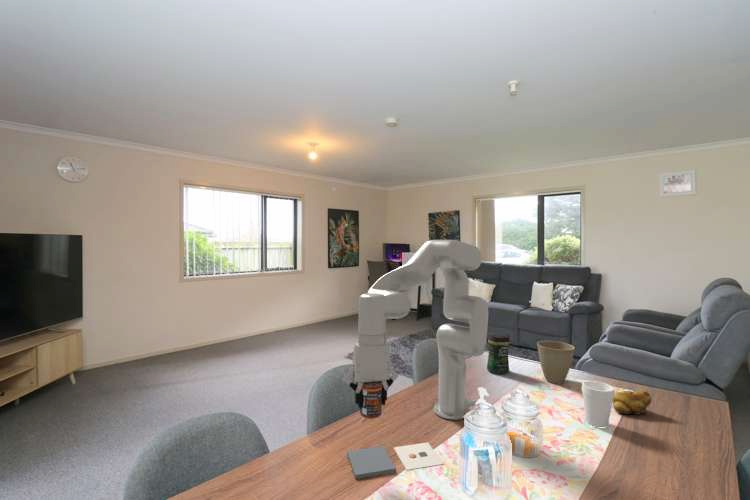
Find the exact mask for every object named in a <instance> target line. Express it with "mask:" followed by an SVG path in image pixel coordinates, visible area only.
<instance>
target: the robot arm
mask: <svg viewBox="0 0 750 500" xmlns="http://www.w3.org/2000/svg"><path fill="white" fill-rule="evenodd" d="M482 260H483V255H482V252H481V250H480V249H479V248H478V247H477V245H474V244H471V243H466V242H465V241H464V242H463V241H460V240H455V239H431V240H428V241H425V242H424V243H423V244H422V245H421V247H420V248H419V249H418V250H417V251H416V252H415V254H413V256H412V257H411V258H410V259H409V260H408V261H407V263H405V264H404V265H402V266H399V267H398V268H396V269H393V270H391V271H390V272H389V271H388V272H387V273H385V274H384V275H382V276H381V277H380V278H379V279H377V280H376V281H375V282H374V284H373V285H371V287H370V288H369V289H368V290H367V292H366V293H363V294H361V295H360V296H359V298H358V314H357V315H358V316H357V317H358V320H357V322H358V325H357V326H358V327H357V328H358V329H357V333H358V334H357V342H355V343H354V345H353V346H354V347H353V353H352V363H351V368H350V370H349V371H348V372H347V373H346V374H345V375H344V377H343V378H342V379H343V382H345V383H346V384H347V385H348V386H349V387H350V388H351V389H352V390H353V391H354V402H355V405H357V407H358V408H359V409H360V408H361V407H362V393H361V388H362V385H363V383H366V382H372V380H374V381H381V383H382V406H386V401H387V400H388V390H389V388H390V387H391V386H392V385H393V384H394V382H395V381H396V379H398V378H399V374H398V373H397V371H395V369H394V368H393V367H392V366H391V358H390V357H391V356H390V348H389V346H388V345H389V344H388V343H387V340H390V339H391V333H387V330H386V328H387V326H386V325H387V324H386V323H387V322H386V321H387V320H388V319H389V320H390V319H393V320H394V319H401V318H404V317H406V316H408V315H409V313H410V312H411V309H412V300H411V299H410V297H409V296H408V295H407V294H405V293H404V292H401V291H403V290H408V289H413V288H416V287H420V286H423V285H425V284H426V283H427V282H429V280H430V278H432V276H433V274H435V272H436V271H437V269H438V268H439V270H440V271H441V273H442V276H443V277H444V290H443V291H444V293H443V303H442V313H443V316H444V317H445V318H446V319H448V320H451V321H454V322H460V323H465V324H468V325H469V326H466V325H465V326H464V325H460V324H454V323H444V324H441V325H440V326H439V327H438V329H437V331H436V336H435V337H436V343H437V344H436V345H437V350H438V351H437V352H438V384H437V385H438V388H437V389H438V392H437V393H438V395H437V397H438V399H437V401H438V402H437V403H435V404H434V406H433V412H434V413H435V414H436V416H439V417H440V418H443V419H447V420H451V421H452V420H453V421H457V420H459V421H460V420H463V416H464V415H465V414H466V413H467V412H468V411H470V409H469V408H470V407H475V403H476V401H477V399H472V400H471V398H469V397H468V398H466V379H467V377H466V376H467V372H466V371H467V365H466V364H467V363H466V360H465V357H464V356H469V357H477V358H478V357H481V356H482V355H483V354H484V353H485V351H486V348H487V341H488V339H487V337H488V325H489V307H488V303H487V302H486V300H485V299H484V298H483V297H480V296H474V295H470V294H469V288H470V280H469V276H468V275H467V273H466V271H470V272H471V271H472V272H473V271H475V270H477V269H478V268H479V267H480V266H481V264H482ZM352 378H354V381H355V382H353V380H351V379H352ZM477 402H478V401H477Z"/></svg>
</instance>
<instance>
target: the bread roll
mask: <svg viewBox="0 0 750 500" xmlns="http://www.w3.org/2000/svg"><path fill="white" fill-rule="evenodd" d="M651 404H652V396H651V394H650V393H649V392H648V391H643V390H638V391H632V390H622V391H621V392H614V397H613V401H612V406H613V408H614V410H615V412H617V413H619V414H622V413H625V414H624V415H629V414H628V413H630V414H633V413H642V414H644V413H645V412H646V410H647V408H648V406H650V405H651ZM643 412H644V413H643Z"/></svg>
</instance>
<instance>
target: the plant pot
mask: <svg viewBox="0 0 750 500" xmlns="http://www.w3.org/2000/svg"><path fill="white" fill-rule="evenodd" d="M536 345H537V352H538V358H539V362H540V367H541V370H542V374H543V376H544V379H545V380H546V382H549V383H552V384H558V385H559V384H561V385H562V384H563V383H565V380H566V379H567V377H568V374H569V371H570V368H571V365H572V363H573V358H574V353H575V346H574V345H572V344H570V343H566V342H562V341H557V340H556V341H554V340H541V341H537V342H536Z"/></svg>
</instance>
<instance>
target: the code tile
mask: <svg viewBox="0 0 750 500" xmlns="http://www.w3.org/2000/svg"><path fill="white" fill-rule="evenodd" d="M393 451H395V453H396V454H397V456H398V459H399V460H400V461H401V463H402V465H403V467H404V469H405V470H406V471H410V470H417V469H423V468H429V467H436V466H440V465H445V463H444V462H443V461H442V459H441V457H440V456H439V455H438V454H437V452H436V451H435V450H434V448H432V446H431V445H430V443H429V441H428V442H422V443H421V442H420V443H416V444H415V443H413V444H408V445H401V446H395V447H394V446H393Z"/></svg>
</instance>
